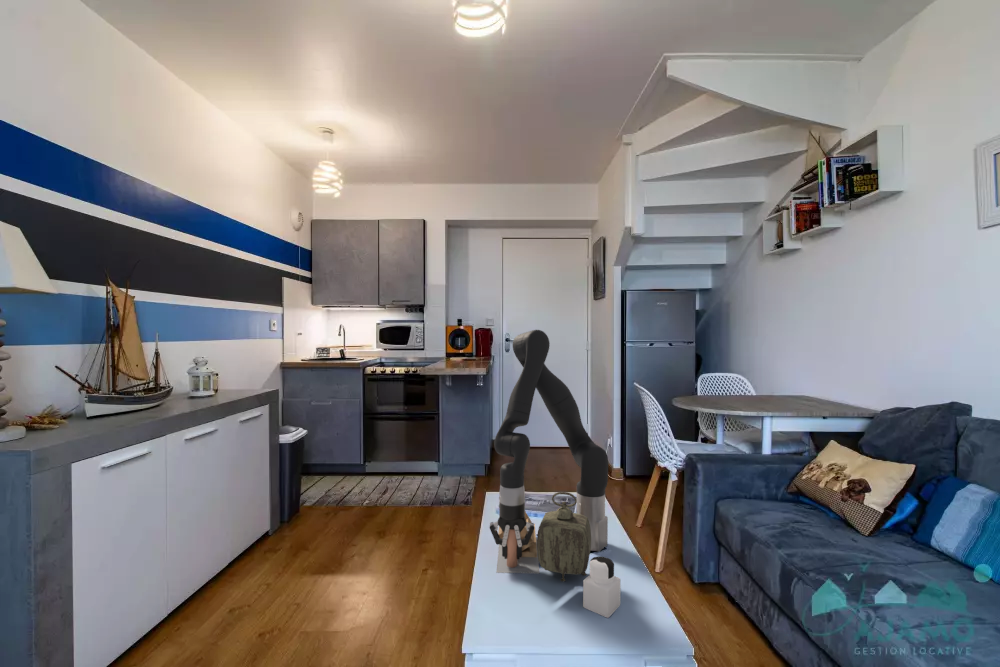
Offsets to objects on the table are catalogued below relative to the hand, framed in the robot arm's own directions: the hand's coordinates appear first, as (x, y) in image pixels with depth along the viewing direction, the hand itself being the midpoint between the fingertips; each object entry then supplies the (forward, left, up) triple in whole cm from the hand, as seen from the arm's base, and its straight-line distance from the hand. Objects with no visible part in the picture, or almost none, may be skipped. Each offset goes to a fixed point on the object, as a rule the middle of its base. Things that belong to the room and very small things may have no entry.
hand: (511, 557), depth 137 cm
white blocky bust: (-29, -1, -4) cm, 29 cm away
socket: (+5, -11, -2) cm, 12 cm away
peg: (0, 0, -2) cm, 2 cm away
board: (+3, -7, -3) cm, 8 cm away
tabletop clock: (-15, -5, -4) cm, 16 cm away
